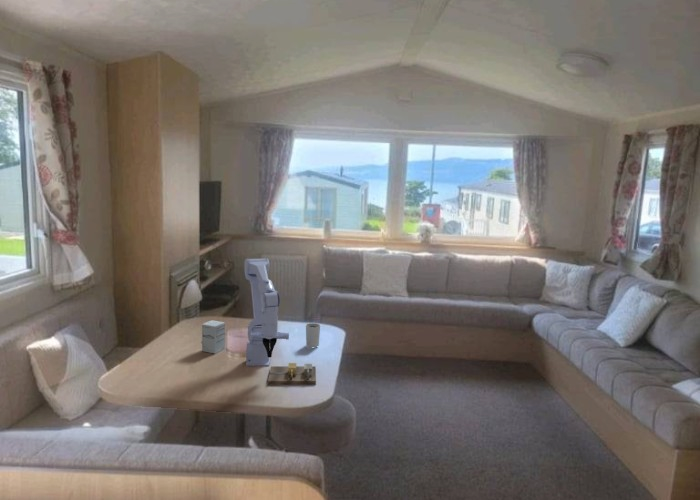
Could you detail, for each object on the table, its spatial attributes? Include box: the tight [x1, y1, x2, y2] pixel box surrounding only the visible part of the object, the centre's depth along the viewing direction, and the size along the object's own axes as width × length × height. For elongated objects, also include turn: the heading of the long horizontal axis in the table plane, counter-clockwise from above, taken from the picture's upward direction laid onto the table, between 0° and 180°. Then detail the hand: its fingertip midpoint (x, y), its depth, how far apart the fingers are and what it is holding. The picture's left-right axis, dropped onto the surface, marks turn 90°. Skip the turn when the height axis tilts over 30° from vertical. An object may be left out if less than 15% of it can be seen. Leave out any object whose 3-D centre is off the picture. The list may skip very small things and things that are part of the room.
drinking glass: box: [305, 322, 321, 349], centre depth 224 cm, size 7×7×10 cm
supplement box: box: [201, 319, 226, 355], centre depth 214 cm, size 7×7×13 cm
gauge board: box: [267, 363, 317, 386], centre depth 189 cm, size 18×14×4 cm
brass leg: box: [288, 362, 297, 379], centre depth 187 cm, size 3×8×3 cm, turn 5°
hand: (269, 356), depth 188 cm, fingers closed
